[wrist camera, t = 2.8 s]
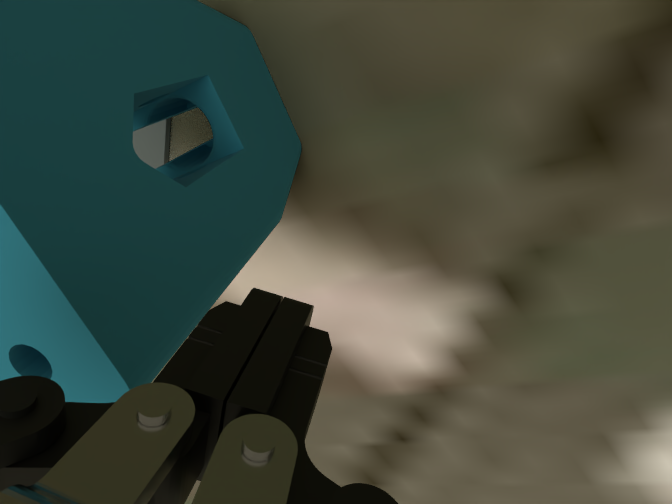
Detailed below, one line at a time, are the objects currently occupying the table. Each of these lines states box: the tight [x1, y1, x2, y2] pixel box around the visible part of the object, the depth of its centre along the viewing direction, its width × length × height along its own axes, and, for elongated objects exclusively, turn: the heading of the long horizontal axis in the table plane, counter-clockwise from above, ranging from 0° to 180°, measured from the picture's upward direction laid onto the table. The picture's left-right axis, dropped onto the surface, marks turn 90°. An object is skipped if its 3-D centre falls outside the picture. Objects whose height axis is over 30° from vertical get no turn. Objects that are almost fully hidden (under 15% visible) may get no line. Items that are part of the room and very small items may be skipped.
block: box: [0, 0, 302, 403], centre depth 21 cm, size 12×5×20 cm, turn 24°
